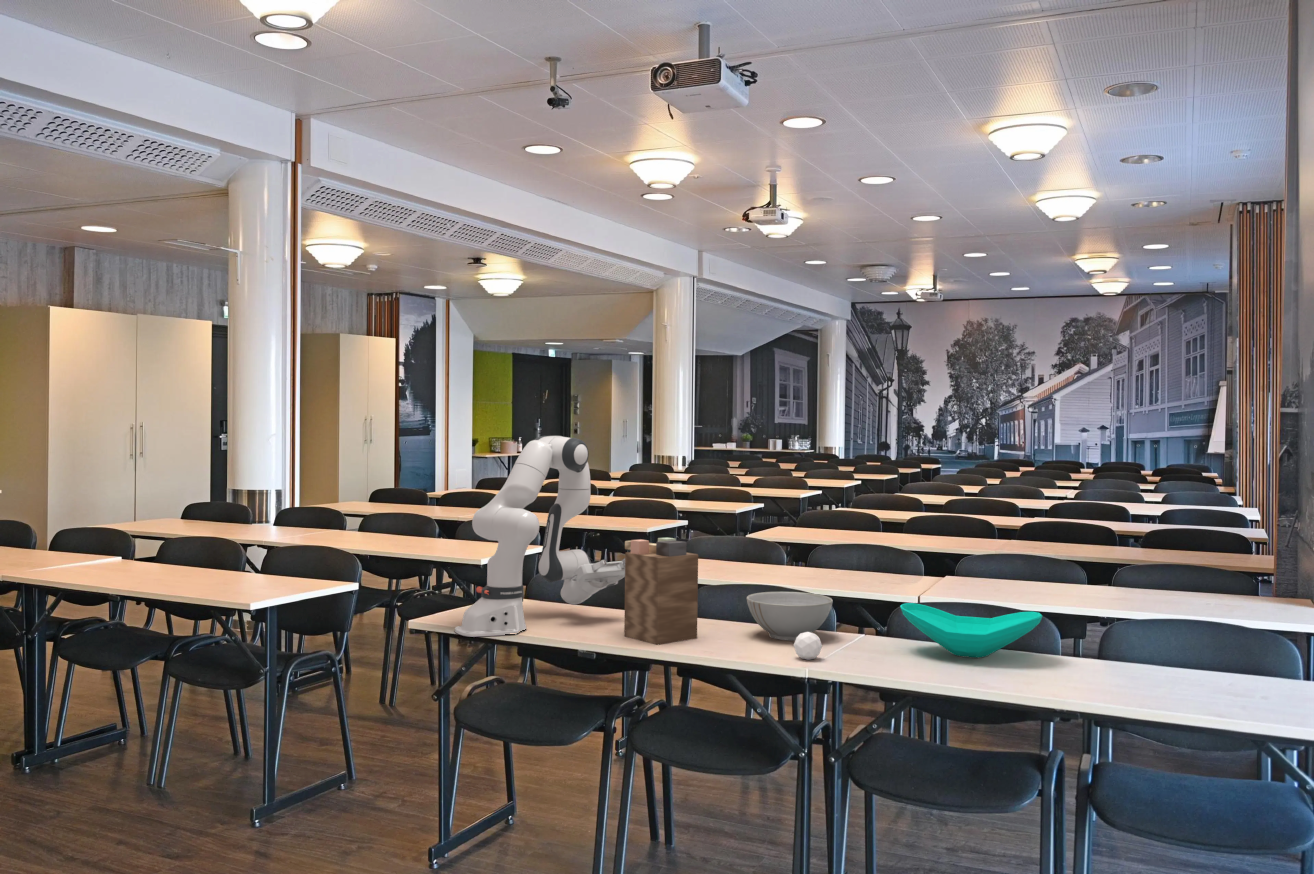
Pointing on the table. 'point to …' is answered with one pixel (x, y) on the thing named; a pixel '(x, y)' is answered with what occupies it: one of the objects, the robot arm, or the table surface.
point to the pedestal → (661, 597)
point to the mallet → (664, 548)
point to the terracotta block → (640, 546)
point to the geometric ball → (807, 645)
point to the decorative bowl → (789, 612)
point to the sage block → (666, 539)
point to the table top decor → (970, 629)
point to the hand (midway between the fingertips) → (616, 560)
